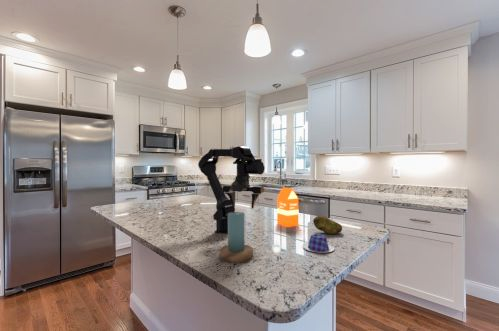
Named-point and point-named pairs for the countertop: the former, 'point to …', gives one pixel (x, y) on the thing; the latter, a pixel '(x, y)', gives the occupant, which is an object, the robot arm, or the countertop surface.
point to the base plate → (236, 255)
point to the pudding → (318, 244)
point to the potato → (327, 225)
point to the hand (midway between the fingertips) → (243, 207)
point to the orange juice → (287, 208)
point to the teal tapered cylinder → (236, 232)
